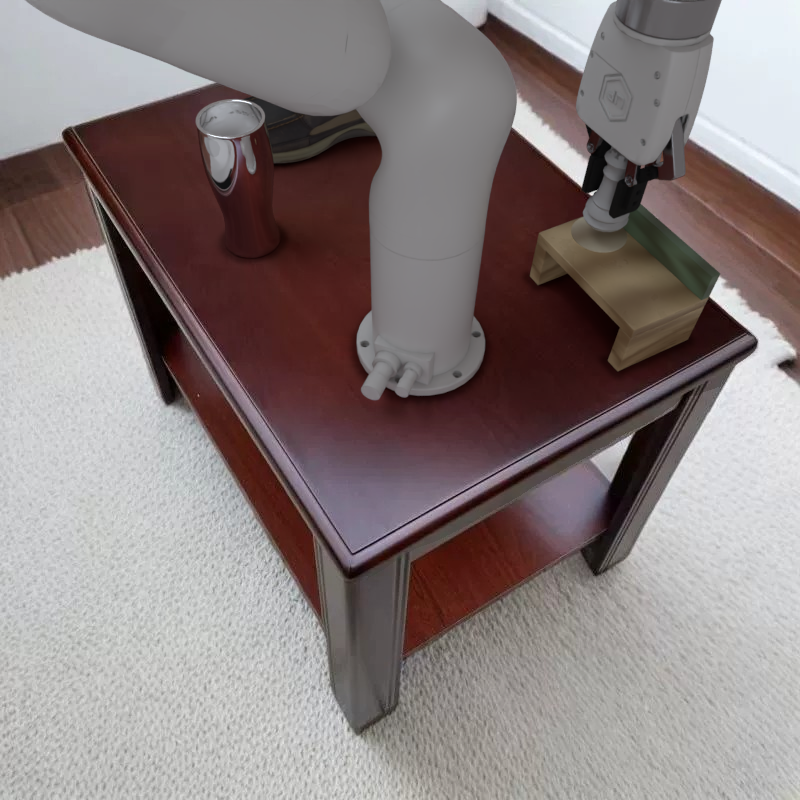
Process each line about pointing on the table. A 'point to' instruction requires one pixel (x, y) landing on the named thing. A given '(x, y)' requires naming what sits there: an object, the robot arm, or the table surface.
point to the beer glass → (240, 173)
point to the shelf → (631, 280)
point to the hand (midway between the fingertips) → (609, 198)
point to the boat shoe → (307, 131)
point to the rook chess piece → (607, 195)
